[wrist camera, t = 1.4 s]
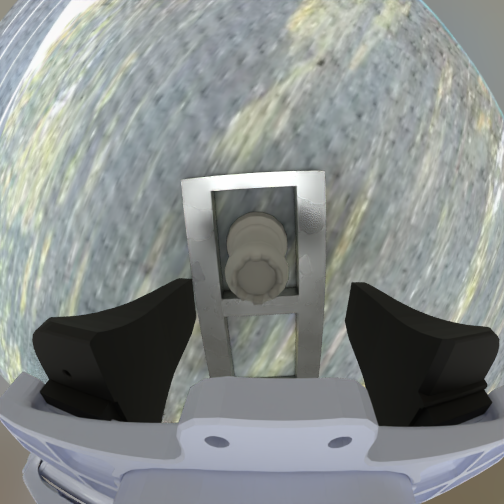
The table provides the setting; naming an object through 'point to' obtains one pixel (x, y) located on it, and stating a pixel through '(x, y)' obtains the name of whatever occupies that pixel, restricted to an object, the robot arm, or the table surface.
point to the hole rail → (290, 299)
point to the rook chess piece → (257, 258)
